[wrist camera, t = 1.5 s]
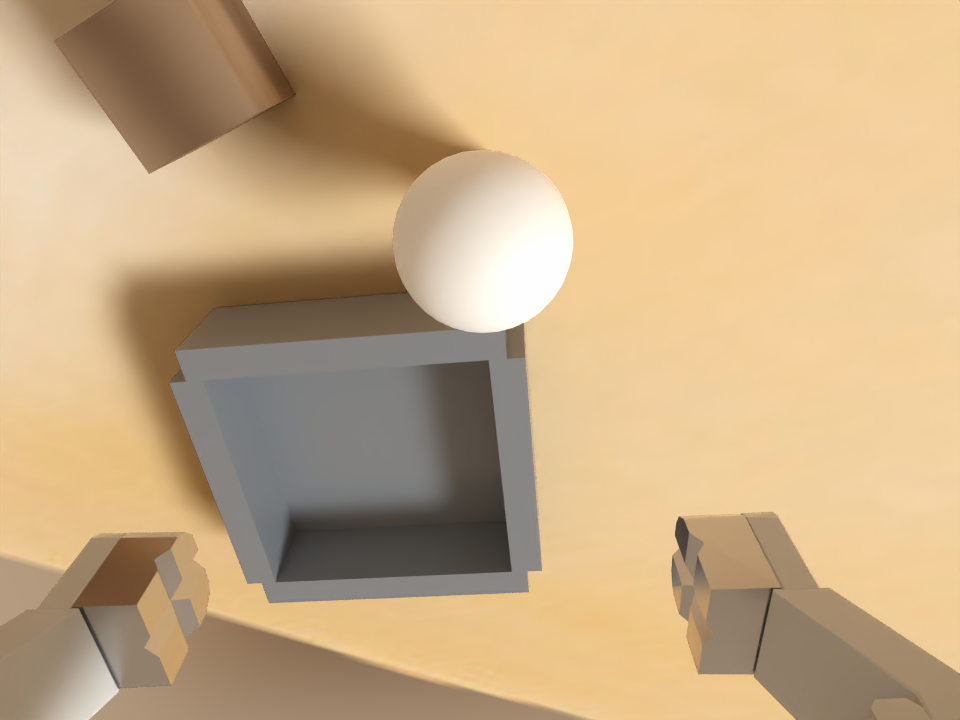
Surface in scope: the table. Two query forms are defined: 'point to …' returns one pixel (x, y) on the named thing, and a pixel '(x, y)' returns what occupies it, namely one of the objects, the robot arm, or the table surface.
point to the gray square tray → (364, 448)
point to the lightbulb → (482, 241)
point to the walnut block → (175, 72)
